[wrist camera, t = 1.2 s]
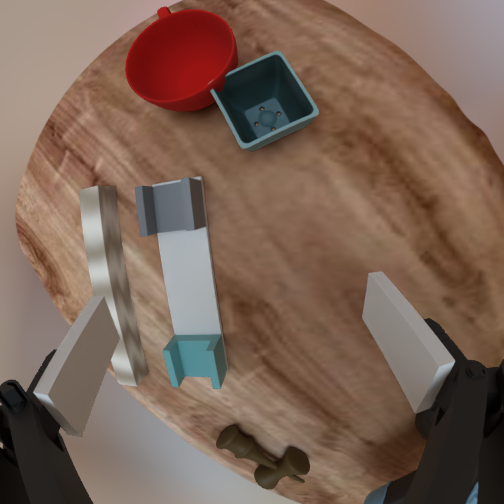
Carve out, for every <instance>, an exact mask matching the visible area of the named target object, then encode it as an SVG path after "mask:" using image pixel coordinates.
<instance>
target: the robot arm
mask: <svg viewBox="0 0 504 504" xmlns="http://www.w3.org/2000/svg"><path fill="white" fill-rule="evenodd" d="M362 319H363V321H364V322H365V324H366V326H367V327H368V329H369V331H370V333H371V334H372V336H373V338H374V339H375V341H376V343H377V345H378V346H379V348H380V350H381V352H382V353H383V355H384V357H385V359H386V361H387V362H388V364H389V366H390V368H391V370H392V371H393V373H394V375H395V377H396V379H397V381H398V382H399V384H400V386H401V388H402V390H403V392H404V394H405V396H406V398H407V399H408V401H409V403H410V405H411V407H412V409H413V411H414V413H415V414H416V413H417V416H416V428H417V430H418V432H419V434H420V435H421V437H422V438H423V439H425V440H427V444H426V447H425V449H424V452H423V455H422V458H421V461H420V463H419V466H418V469H417V470H415V471H413V472H411V473H409V474H407V475H405V476H403V477H401V478H399V479H397V480H394V481H390V482H388V483H387V484H386V485H384V486H382V487H380V488H378V489H376V490H374V491H372V492H371V493H369V494H368V496H367V497H366V499H365V501H364V504H504V359H503V361H502V362H501V364H500V366H499V367H492V368H486V367H485V366H484V365H483V364H482V363H480V362H478V361H475V360H467V358H466V357H465V356H464V355H463V353H462V352H461V351H460V350H459V348H458V347H457V346H456V344H455V343H454V342H453V341H452V340H451V339H450V337H449V336H448V335H447V333H445V331H444V330H443V329H442V327H441V326H440V325H439V324H438V323H436V322H435V321H433V320H432V319H430V318H428V319H424V320H423V319H422V317H421V316H420V315H419V314H418V312H417V311H416V310H415V309H414V308H413V306H412V305H411V304H410V303H409V302H408V301H407V299H406V298H405V297H404V296H403V295H402V293H401V292H400V291H399V290H398V289H397V288H396V287H395V285H394V284H393V283H392V282H391V281H390V280H389V279H388V277H387V276H386V275H385V274H384V273H383V272H382V271H380V272H372V273H369V274H368V281H367V289H366V296H365V302H364V309H363V315H362ZM119 340H120V336H119V334H118V331H117V329H116V326H115V324H114V321H113V319H112V316H111V313H110V310H109V308H108V305H107V302H106V299H105V296H92V297H91V298H90V300H89V301H88V303H87V304H86V306H85V307H84V309H83V310H82V312H81V313H80V315H79V316H78V318H77V319H76V321H75V322H74V324H73V325H72V327H71V328H70V330H69V332H68V333H67V335H66V337H65V338H64V340H63V341H62V343H61V344H60V346H59V348H58V349H57V350H53V351H52V352H51V353H50V354H49V355H48V356H47V357H46V359H45V360H44V362H43V364H42V366H41V367H40V369H39V370H38V372H37V374H36V375H35V377H34V379H33V381H32V383H31V384H30V386H29V388H28V390H27V392H25V391H24V389H23V388H22V387H21V385H20V384H19V382H17V381H16V380H8V381H6V382H4V383H2V384H1V386H0V402H1V403H2V405H0V442H1V443H3V449H2V448H1V447H0V504H93V502H92V501H91V498H90V497H89V495H88V493H87V491H86V489H85V487H84V485H83V483H82V481H81V479H80V477H79V476H78V473H77V471H76V469H75V467H74V465H73V462H72V460H71V458H70V456H69V453H68V451H67V448H66V446H65V444H64V441H63V438H62V436H61V435H60V433H59V429H60V427H61V428H62V429H63V430H64V431H65V432H66V433H67V434H68V435H72V436H78V437H82V435H83V432H84V429H85V426H86V424H87V420H88V418H89V415H90V412H91V409H92V407H93V404H94V401H95V398H96V396H97V393H98V391H99V388H100V386H101V383H102V380H103V378H104V375H105V373H106V370H107V368H108V366H109V363H110V361H111V358H112V356H113V354H114V351H115V349H116V347H117V344H118V342H119Z"/></svg>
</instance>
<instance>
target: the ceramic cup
mask: <svg viewBox="0 0 504 504" xmlns="http://www.w3.org/2000/svg"><path fill="white" fill-rule="evenodd" d="M157 13H158V16H159V18H160V19H158V20H157V21H155V22H153V23H152V24H151V25H149V26H148V27H147V28H146V29H145V30H144V31H143V32H142V33H141V34H140V35H139V36H138V37H137V39H136V40H135V41H134V43H133V44H132V46H131V48H130V50H129V53H128V56H127V59H126V68H125V71H126V78H127V80H128V83H129V85H130V87H131V88H132V89H133V91H134V92H135V93H136V94H138V95H139V96H140V97H142V98H143V99H144V100H146V101H148V102H150V103H152V104H155V105H157V106H159V107H162V108H164V109H168V110H173V111H193V110H199V109H202V108H205V107H207V106H209V105H211V104H213V103H214V102H216V100H215V99H214V97H213V95H212V93H211V92H210V90H212V89H215V90H216V91H218V92H221V91H222V90H223V87H224V84H225V76H226V75H227V73H228V72H230V71H232V70H234V69H237V65H238V55H237V45H236V41H235V37H234V35H233V32H232V29H231V28H230V26H229V25H228V24H227V22H226V21H225V20H223V19H222V18H221V17H220V16H218V15H216V14H214V13H211V12H208V11H204V10H182V11H178V12H174V13H171V12H170V10H169V9H168V8H167V7H162V8H160V9H159V10H158V11H157ZM212 80H213V81H212ZM211 81H212V82H211ZM209 82H210V83H209ZM208 83H209V84H208Z"/></svg>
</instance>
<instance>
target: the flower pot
mask: <svg viewBox="0 0 504 504" xmlns="http://www.w3.org/2000/svg"><path fill="white" fill-rule="evenodd" d="M212 81H213V80H212ZM212 81H211V82H212ZM209 83H210V82H209ZM209 83H208V84H209ZM210 92H211V93H212V95H213V97H214V99H215V100H216V102H217V104H218V106H219V108H220V110H221V111H222V113H223V115H224V117H225V119H226V121H227V122H228V124H229V126H230V128H231V130H232V132H233V134H234V136H235V138H236V140H237V142H238V144H239V146H240V147H241V148H243V149H246V150H248V151H255V150H257V149H259V148H261V147H263V146H265V145H267V144H269V143H271V142H274V141H276V140H278V139H280V138H282V137H284V136H286V135H289V134H291V133H293V132H295V131H297V130H300V129H302V128H304V127H306V126H308V125H309V124H310V123H311V122H312V121H313V120H314V119H315V118H316V116H317V115H318V114H319V110H318V108H317V106H316V104H315V103H314V101H313V100H312V98H311V97H310V95H309V93H308V92H307V90H306V89H305V87H304V86H303V84H302V83H301V81H300V79H299V78H298V76H297V75H296V73H295V72H294V70H293V69H292V67H291V66H290V64H289V63H288V61H287V59H286V58H285V56H284V55H283V53H282V52H280V51H274V52H272V53H269V54H267V55H265V56H262V57H260V58H258V59H256V60H253V61H251V62H249V63H247V64H245V65H243V66H241V67H239V68H237V69H234V70H232V71H230V72H228V73H227V75H226V76H225V84H224V87H223V90H222V91H221V92H218V91H216V90H215V89H212V90H210ZM262 107H263V108H264V110H263V111H261V110H260V108H262ZM278 112H280V113H281V115H280V116H278V115H277V113H278ZM255 123H259V125H258V126H255ZM273 127H274V128H275V129H276V130H274V131H272V130H271V129H272V128H273Z"/></svg>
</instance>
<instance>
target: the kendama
mask: <svg viewBox="0 0 504 504" xmlns="http://www.w3.org/2000/svg"><path fill="white" fill-rule="evenodd" d="M216 446H217V448H218V449H228V450H230V451H231V452H233V453H234V454H235V457H236V458H246V459H249V460H252V461H255V462H257V463H260V464H262V465H264V466H259V467H257V468H256V470H255V472H254V477H255V480H256V482H257V483H258V484H259V485H260V486H261V487H263V488H265V489H273V488H274V487H275V486H276V485H277V483H278V481H279V480H280V479H281V478H283V477H285V476H288V477H290V478H292V479H295V480H297V481H299V482H302V483H304V482H305V481H304V480H303V479H301V478H300V477H298V476H296V475H306V474H307V473H308V472H309V469H310V464H309V460H308V458H307V456H306V455H305V454H304V453H303V452H302V451H301V450H299V449H297V448H289V449H288V450H287V451H286V454H285V456H284V459H283V461H281V462H280V463H278V464H276V463H275V462H273V461H272V460H271V459H269V458H268V457H267V456H266V455H264V454H263V453H262V452H261V451H260V450H259V449H258V448H257V447H256V446H255V445H254V441H253V439H251V438H245V437H244V436H242V435H241V434H240V433H239V432H238V428H237V426H235V425H233V426H230V427H228V428H226V429H225V430H224V431H223V432H222V433H221V434H220V436H219V437H218V439H217V442H216Z"/></svg>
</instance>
